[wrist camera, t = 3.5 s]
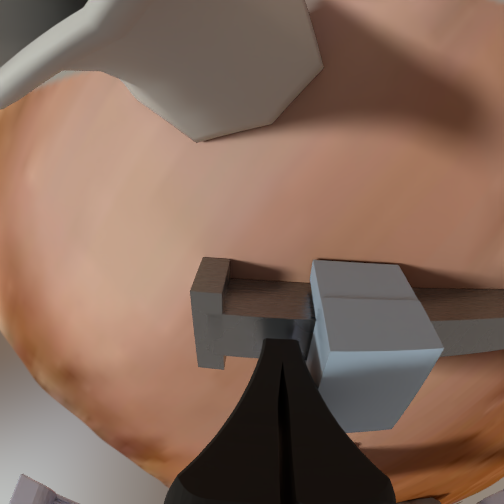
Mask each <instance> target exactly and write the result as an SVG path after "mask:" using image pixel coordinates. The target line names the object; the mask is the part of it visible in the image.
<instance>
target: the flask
mask: <svg viewBox="0 0 504 504" xmlns="http://www.w3.org/2000/svg"><path fill="white" fill-rule="evenodd" d="M323 68H324V67H323V63H322V59H321V55H320V51H319V47H318V44H317V40H316V36H315V33H314V29H313V26H312V22H311V19H310V16H309V12H308V9H307V6H306V3H305V0H0V109H4V108H6V107H7V106H9V105H11V104H12V103H14V102H16V101H18V100H20V99H21V98H22V97H24V96H25V95H27V94H28V93H29V92H31V91H32V90H34V89H35V88H36V87H38V86H39V85H41V84H42V83H44V82H45V81H47V80H48V79H50V78H51V77H53V76H54V75H56V74H57V73H59V72H61V71H62V70H75V71H101V72H104V73H107V74H109V75H111V76H114V77H116V78H119V79H120V80H121V81H122V82H123V83H124V84H125V85H126V87H127V88H128V89H129V91H130V92H131V93H132V94H133V96H134V97H135V98H136V99H137V100H138V101H139V102H140V103H142V104H143V105H145V106H146V107H148V108H149V109H150V110H152V111H153V112H155V113H156V114H157V115H159V116H160V117H162V118H163V119H164V120H166V121H167V122H169V123H170V124H171V125H173V126H174V127H176V128H177V129H178V130H180V131H181V132H182V133H184V134H185V135H186V136H188V137H189V138H191V139H192V140H193V141H195V142H196V143H198V142H201V141H205V140H209V139H212V138H216V137H220V136H224V135H228V134H232V133H236V132H240V131H244V130H248V129H252V128H257V127H261V126H266V125H270V124H273V122H274V121H275V120H276V119H277V118H278V117H279V116H280V115H281V113H282V112H283V111H284V110H285V109H286V108H287V107H288V106H289V105H290V103H291V102H292V101H293V100H294V99H295V98H296V97H297V96H298V95H299V94H300V93H301V91H302V90H303V89H304V88H305V87H306V86H307V85H308V84H309V83H310V82H311V81H312V80H313V79H314V78H315V77H316V76H317V74H318V73H319V72H320V71H321V70H322V69H323Z"/></svg>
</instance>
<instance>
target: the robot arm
mask: <svg viewBox="0 0 504 504" xmlns="http://www.w3.org/2000/svg"><path fill="white" fill-rule="evenodd" d="M9 504H79V503H77V502H74V501H72V500H69V499H67V498H65V497H63V496H60V495H58V494H56V493H55V492H54V491H53V490H52V489H50V488H48V487H47V486H45V485H43V484H41V483H39V482H37V481H35V480H33V479H31V478H30V477H28V476H26V475H24V474H21V475H20V477H19V480H18V483H17V485H16V487H15V490H14V492H13V495H12V498H11V500H10V503H9ZM164 504H396V498H395V493H394V490H393V486H392V484H391V481H390V479H389V478H388V477H387V476H386V475H385V474H384V473H383V472H381V471H380V470H379V469H378V468H377V467H376V466H375V465H374V464H373V463H372V462H371V461H370V460H369V459H368V458H367V457H366V456H365V455H364V454H363V453H362V452H361V451H360V450H359V449H358V447H357V446H356V445H355V444H354V443H353V441H352V440H351V439H350V438H349V437H348V436H347V434H346V433H345V432H344V430H343V429H342V428H341V426H340V425H339V424H338V422H337V421H336V419H335V418H334V416H333V415H332V413H331V412H330V410H329V408H328V407H327V405H326V403H325V402H324V400H323V398H322V396H321V395H320V393H319V391H318V389H317V387H316V385H315V383H314V381H313V379H312V376H311V374H310V372H309V370H308V368H307V365H306V363H305V360H304V357H303V355H302V352H301V349H300V345H299V342H298V341H297V340H295V339H273V338H265V339H264V340H263V343H262V349H261V353H260V356H259V359H258V362H257V365H256V368H255V370H254V372H253V375H252V377H251V379H250V381H249V384H248V386H247V387H246V389H245V391H244V393H243V395H242V397H241V399H240V401H239V402H238V404H237V406H236V407H235V409H234V410H233V412H232V413H231V415H230V416H229V418H228V419H227V421H226V422H225V424H224V425H223V426H222V428H221V429H220V430H219V432H218V433H217V434H216V436H215V437H214V438H213V439H212V440H211V442H210V443H209V444H208V445H207V446H206V447H205V448H204V449H203V451H202V452H201V453H200V454H199V455H198V456H197V457H196V458H195V459H194V460H193V461H192V462H191V463H190V464H189V465H188V466H187V467H186V468H185V469H184V470H182V471H181V472H180V473H179V474H178V475H177V477H176V479H175V480H174V482H173V483H172V485H171V487H170V488H169V491H168V493H167V495H166V498H165V501H164ZM477 504H504V490H501V491H499V492H497V493H495V494H493V495H491V496H488V497H487V498H485V499H483V500H481V501H480V502H478V503H477Z"/></svg>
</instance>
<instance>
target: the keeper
mask: <svg viewBox="0 0 504 504" xmlns="http://www.w3.org/2000/svg"><path fill="white" fill-rule="evenodd" d="M310 283H311V290H312V296H313V303H314V309H315V316H316V322H315V327H314V332H313V336H312V340H311V345H310V349H309V353H308V358H307V360H305V363H306V365H307V368H308V370H309V372H310V374H311V376H312V379H313V381H314V383H315V385H316V387H317V389H318V391H319V393H320V395H321V396H322V398H323V400H324V402H325V403H326V405H327V407H328V408H329V410H330V412H331V413H332V415H333V416H334V418H335V419H336V421H337V422H338V424H339V425H340V426H341V428H342V429H343V430H344V432H345V433H352V432H366V431H377V430H387V429H392V428H393V427H394V425H395V424H396V423H397V421H398V420H399V418H400V417H401V416H402V414H403V413H404V411H405V410H406V409H407V407H408V406H409V404H410V403H411V401H412V400H413V398H414V397H415V395H416V394H417V392H418V391H419V389H420V388H421V386H422V385H423V383H424V381H425V380H426V378H427V377H428V375H429V373H430V372H431V370H432V368H433V367H434V365H435V363H436V362H437V360H438V358H439V356H440V355H441V353H442V351H443V349H444V347H443V345H442V343H441V341H440V339H439V337H438V335H437V333H436V331H435V329H434V327H433V325H432V323H431V321H430V319H429V317H428V315H427V313H426V311H425V310H424V308H423V306H422V304H421V302H420V301H419V300H418V299H417V297H416V295H415V293H414V291H413V290H412V288H411V286H410V284H409V283H408V281H407V279H406V277H405V276H404V274H403V272H402V270H401V269H400V267H399V265H390V264H373V263H357V262H340V261H324V260H313V263H312V269H311V275H310Z"/></svg>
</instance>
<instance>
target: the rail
mask: <svg viewBox="0 0 504 504" xmlns="http://www.w3.org/2000/svg"><path fill="white" fill-rule="evenodd" d="M412 290H413V291H414V293H415V295H416V297H417V299H418V300H419V301H420V302H421V304H422V306H423V308H424V310H425V311H426V313H427V315H428V317H429V319H430V321H431V323H432V325H433V327H434V329H435V331H436V333H437V335H438V337H439V339H440V341H441V343H442V345H443V347H444V349H443V351H442V353H441V355H440V356H439V357H443V356H454V355H463V354H472V353H480V352H488V351H495V350H502V349H504V290H494V289H437V288H412ZM190 296H191V306H192V316H193V326H194V335H195V344H196V352H197V361H198V367H203V368H212V369H222V370H224V367H225V361H226V356H235V357H248V358H259V356H260V353H261V349H262V343H263V340H264V339H265V338H273V339H295V340H297V341H298V342H299V345H300V349H301V352H302V355H303V357H304V360H307V358H308V353H309V349H310V345H311V340H312V336H313V332H314V327H315V322H316V316H315V309H314V303H313V296H312V290H311V283H294V282H277V281H261V280H246V279H232V278H230V259H219V258H204V257H203V258H202V261H201V264H200V266H199V269H198V271H197V274H196V277H195V279H194V282H193V285H192V287H191V290H190Z"/></svg>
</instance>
